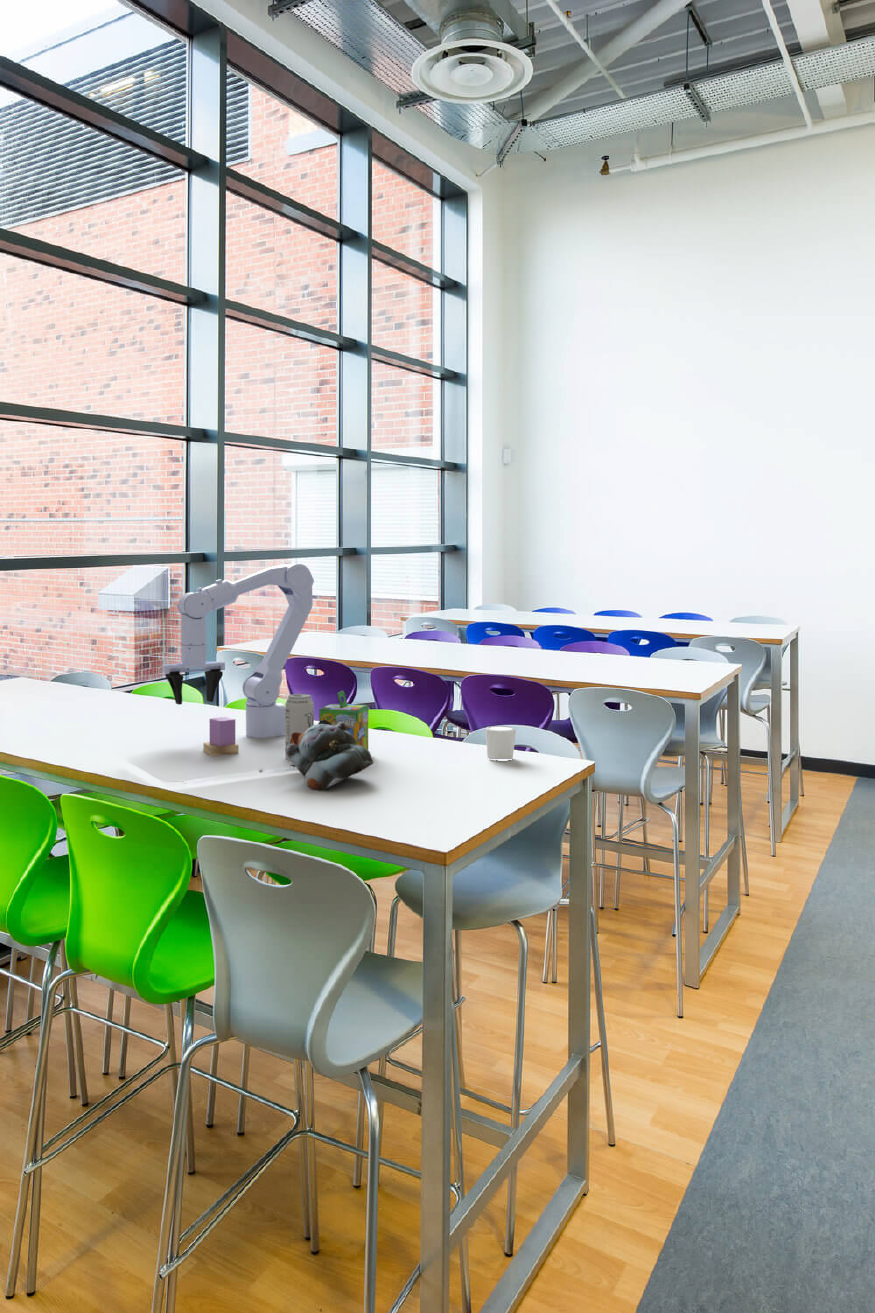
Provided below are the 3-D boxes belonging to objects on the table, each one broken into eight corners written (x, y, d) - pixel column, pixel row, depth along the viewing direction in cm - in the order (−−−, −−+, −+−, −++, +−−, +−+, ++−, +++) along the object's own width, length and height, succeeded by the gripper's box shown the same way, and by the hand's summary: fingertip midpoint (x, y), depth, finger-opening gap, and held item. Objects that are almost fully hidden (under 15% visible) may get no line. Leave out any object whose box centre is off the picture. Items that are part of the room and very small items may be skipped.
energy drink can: (308, 768, 190) (308, 698, 188) (281, 766, 191) (281, 696, 189) (317, 762, 195) (317, 694, 194) (291, 760, 197) (291, 693, 195)
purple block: (225, 741, 200) (225, 716, 200) (235, 743, 198) (235, 719, 197) (209, 743, 198) (209, 718, 197) (219, 746, 195) (219, 721, 194)
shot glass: (479, 759, 200) (480, 729, 200) (492, 754, 207) (493, 724, 206) (508, 763, 197) (508, 732, 197) (520, 757, 203) (520, 727, 203)
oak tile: (229, 748, 202) (229, 740, 202) (238, 754, 197) (238, 745, 197) (203, 751, 199) (203, 742, 199) (211, 756, 194) (211, 747, 193)
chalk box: (358, 762, 196) (358, 695, 194) (318, 760, 198) (318, 693, 196) (369, 754, 205) (370, 690, 203) (331, 752, 207) (331, 688, 205)
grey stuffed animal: (314, 794, 168) (285, 727, 170) (300, 804, 179) (273, 740, 181) (383, 764, 174) (354, 700, 176) (366, 775, 185) (339, 714, 187)
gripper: (216, 641, 215) (216, 697, 216) (156, 644, 206) (157, 702, 208) (228, 644, 210) (229, 701, 211) (168, 646, 201) (169, 706, 202)
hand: (194, 702), depth 209 cm, fingers open, 7 cm apart
